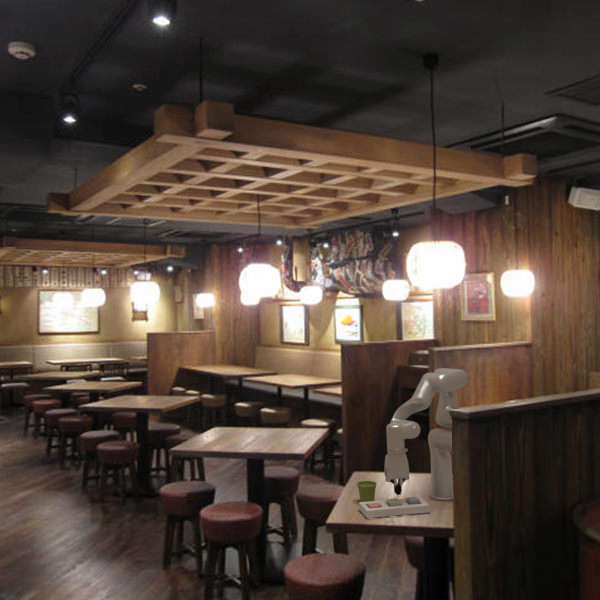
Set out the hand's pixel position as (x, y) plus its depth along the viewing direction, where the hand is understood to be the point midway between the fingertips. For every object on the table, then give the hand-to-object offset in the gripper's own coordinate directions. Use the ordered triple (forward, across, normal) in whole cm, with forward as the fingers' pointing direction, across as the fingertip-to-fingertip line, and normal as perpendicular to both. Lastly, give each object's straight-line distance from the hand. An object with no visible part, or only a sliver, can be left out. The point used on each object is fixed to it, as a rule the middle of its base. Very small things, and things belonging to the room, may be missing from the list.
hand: (398, 494), depth 261 cm
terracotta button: (+6, +11, +1) cm, 13 cm away
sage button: (+5, +2, 0) cm, 6 cm away
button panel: (+7, +2, 0) cm, 8 cm away
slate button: (+6, -7, 0) cm, 9 cm away
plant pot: (+8, +10, -15) cm, 20 cm away
